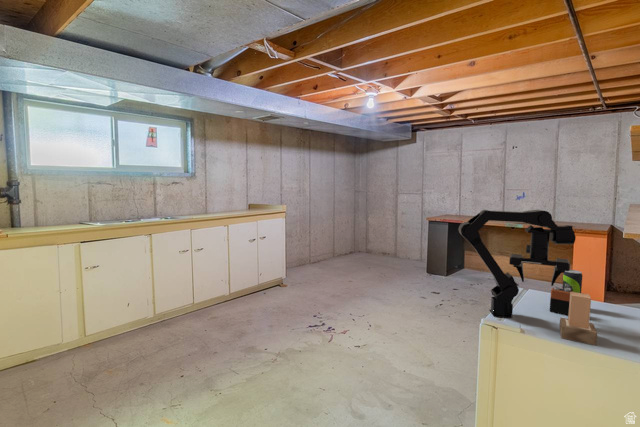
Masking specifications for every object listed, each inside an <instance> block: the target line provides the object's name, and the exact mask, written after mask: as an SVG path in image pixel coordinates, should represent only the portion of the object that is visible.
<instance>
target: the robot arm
mask: <svg viewBox="0 0 640 427" xmlns="http://www.w3.org/2000/svg"><path fill="white" fill-rule="evenodd" d="M490 221H491V222H492V221H494V222H495V221H496V222H512V223H513V222H514V223H525V224H529V225H528V227H526V228H525V229H524V231H525V232H526V233H528V234H530V244H526V248H525V249H526V250H525V253H526V254H529V257H523V254H517V253H512V254H510V256H509V265H511V266H513V267H514V268H516V270H517V272H518V273H519V276H520V278H521V282H522V283H525V274H524V265H523V264H531V265H532V264H533V265H543V266H550V267H554V268H553V273H552V276H551V284H550V286H551V287H553V286H554V284H555V282H556V280H557V279H558V277H559V276H560V275H561V274H564V273H565V271H570V270H571V269H570V268H571V264H570V260H569V259H567V258H559V257H556V258H555V260H550V259H549V250H550V247H549V246H550V242H551V243H552V244H554V245H574V244H575V242H576V234H575V231H574V229H573V225H571V224H570V225H569V224H568V225H557V224H556V223H555V221H554V220H553V216H552V214H551V213H550V212H549V211H547V210H542V209H529V210H525V211H524V210H523V211H506V210H488V209H482V210H481V211H479V212H478V213H477V214H476V215H474V216H472V217H471V218H470V219H469V220H467V221H463V222H461V223H460V224H459V225H458V232H459V234H460V235H461V237H463V238H464V239H465V240H466V241H467V242H468V243H469V244H470V245H471V246H472V248H473V249H474V250H475V251H476V253H477V255H478V256H479V258H480V259H481V260H482V262H483V263H484V264H485V266H486V267H487V269H488V270H489V272H490V273H491V275H492V276H493V280H494V282H495V285H496V286H494V287H492V288H491V289H490V291H491V295H492V296H491V301H490V302H491V303H490V304H491V305H490V309H488V311H489V312H490V313H491V315H492V316H493V317H495V318H496V317H497V318H506V319H507V318H509V319H513V309H514V304H513V303H512V302H513V300H514V299H515V297H517V296H518V294H519V291H520V288H519V284H518V283H517V282H516V280H515V279H514V276H513V275H511V274H510V273H509V272H505V273H504V271H503V270H502V268H501V267H500V266H499V264H498V263H497V261H496V260H495V258H494V257H493V256H492V254H491V253H490V251H489V250H488V248H487V247H486V245H485V244H484V242H483V241H482V237H481V234H480V232H479V231H480V230H481V229H482V228H483V227H484V226H485V225H486V224H487V223H488V222H490ZM534 226H535V227H534ZM537 226H538V227H537ZM545 228H546V229H545ZM493 310H494V311H493Z"/></svg>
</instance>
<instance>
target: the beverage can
mask: <svg viewBox="0 0 640 427" xmlns="http://www.w3.org/2000/svg"><path fill="white" fill-rule="evenodd" d="M582 273H583V272H582V271H579V270H575V269H570V271H565V273H563V277H562V278H563V279H562V288H561V289H564V288H569V289H571V291H573V292H577V293H582V286H583V274H582Z"/></svg>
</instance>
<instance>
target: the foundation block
mask: <svg viewBox="0 0 640 427" xmlns="http://www.w3.org/2000/svg"><path fill="white" fill-rule="evenodd" d="M559 332H560V334H559V335H560V338H561V339H563V340H568V341H573V342H578V343H582V344H588V345H592V346H593V345H594V346H597V340H598V331H597V329H596V326H595V324H594V323H593V322H589V329H586V328H580V327H575V326H570V325H569V322H568V318H566V317H560V318H559Z"/></svg>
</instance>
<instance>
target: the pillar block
mask: <svg viewBox="0 0 640 427" xmlns="http://www.w3.org/2000/svg"><path fill="white" fill-rule="evenodd" d="M591 305H592V297H591V295H590V294H589V293H582V292H581V293H577V292H570V301H569V314H568V316H567V319H568V322H569V325H570V326H575V327H580V328H586V329H589V323H590V315H591Z"/></svg>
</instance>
